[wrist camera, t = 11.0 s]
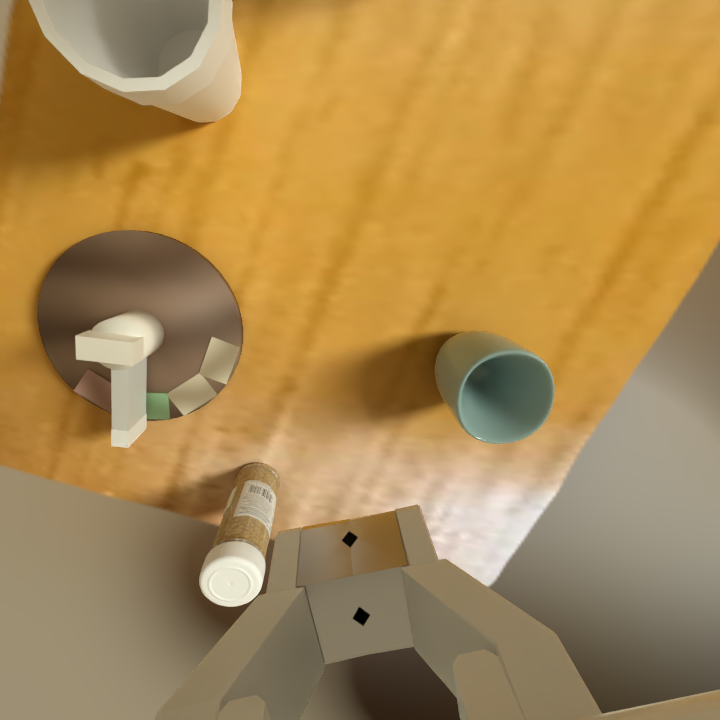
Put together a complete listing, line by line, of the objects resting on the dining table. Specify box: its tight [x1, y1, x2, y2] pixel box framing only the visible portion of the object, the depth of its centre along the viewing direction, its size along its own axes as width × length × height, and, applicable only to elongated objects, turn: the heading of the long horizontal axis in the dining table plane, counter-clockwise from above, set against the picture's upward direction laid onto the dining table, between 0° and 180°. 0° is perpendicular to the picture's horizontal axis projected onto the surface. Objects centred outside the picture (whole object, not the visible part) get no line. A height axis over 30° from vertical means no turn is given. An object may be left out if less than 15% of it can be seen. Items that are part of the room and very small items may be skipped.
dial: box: [38, 230, 243, 421], centre depth 37 cm, size 17×17×1 cm
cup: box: [435, 331, 554, 444], centre depth 36 cm, size 8×8×10 cm
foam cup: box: [28, 0, 242, 123], centre depth 27 cm, size 10×9×13 cm
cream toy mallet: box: [75, 310, 164, 448], centre depth 35 cm, size 11×4×6 cm, turn 171°
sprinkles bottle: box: [199, 463, 280, 607], centre depth 37 cm, size 5×5×13 cm
